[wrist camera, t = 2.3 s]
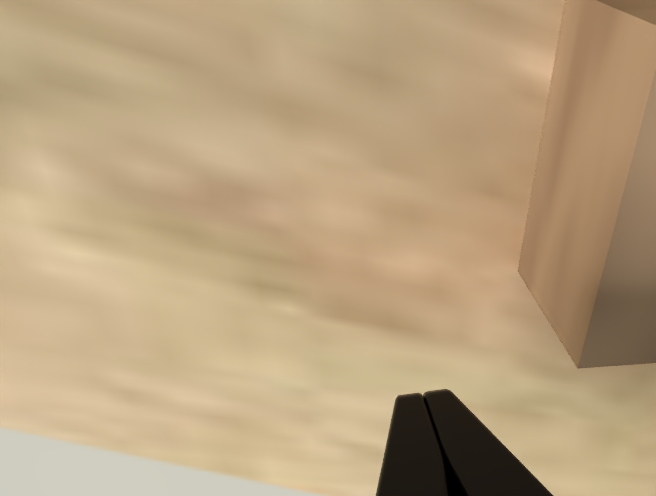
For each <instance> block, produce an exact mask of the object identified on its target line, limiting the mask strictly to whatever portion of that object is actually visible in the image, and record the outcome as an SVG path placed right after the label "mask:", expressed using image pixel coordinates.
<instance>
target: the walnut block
mask: <svg viewBox="0 0 656 496" xmlns="http://www.w3.org/2000/svg"><path fill="white" fill-rule="evenodd" d="M518 272H519V274H520V275H521V277H522V279H523V280H524V282H525V284H526V285H527V287H528V288H529V290H530V292H531V293H532V295H533V297H534V298H535V300H536V302H537V303H538V305H539V306H540V308H541V310H542V311H543V313H544V315H545V316H546V318H547V319H548V321H549V323H550V324H551V326H552V328H553V329H554V331H555V332H556V334H557V336H558V337H559V339H560V341H561V342H562V344H563V345H564V347H565V349H566V350H567V352H568V354H569V355H570V357H571V358H572V360H573V362H574V363H575V365H576V367H577V368H590V367H604V366H618V365H631V364H645V363H656V0H565V4H564V10H563V15H562V21H561V27H560V33H559V38H558V44H557V50H556V55H555V61H554V67H553V73H552V78H551V84H550V90H549V95H548V101H547V107H546V113H545V118H544V124H543V130H542V135H541V141H540V147H539V153H538V158H537V164H536V170H535V175H534V181H533V187H532V193H531V198H530V204H529V210H528V215H527V221H526V227H525V233H524V238H523V244H522V250H521V255H520V261H519V267H518Z"/></svg>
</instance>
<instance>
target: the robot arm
mask: <svg viewBox="0 0 656 496" xmlns="http://www.w3.org/2000/svg"><path fill="white" fill-rule="evenodd" d="M376 496H553V495H552V494H551V493H550V492H549V491H548V490H547V489H546V488H545V487H544V486H543V485H542V484H541V483H540V482H539V481H538V480H537V479H536V477H535V476H534V475H533V474H532V473H531V472H530V471H529V470H528V469H527V468H526V467H525V466H524V465H523V464H522V463H521V462H520V461H519V460H518V459H517V458H516V457H515V456H514V455H513V454H512V453H511V452H510V451H509V450H508V449H507V448H506V447H505V446H504V445H503V444H502V443H501V442H500V441H499V440H498V439H497V438H496V437H495V436H494V435H493V434H492V433H491V431H490V430H489V429H488V428H487V427H486V426H485V425H484V424H483V423H482V422H481V421H480V420H479V419H478V418H477V417H476V416H475V415H474V414H473V413H472V412H471V411H470V410H469V409H468V408H467V407H466V406H465V405H464V404H463V403H462V402H461V401H460V400H459V399H458V398H457V397H456V396H455V395H454V394H453V393H452V392H451V391H450V390H448V389H442V390H435V391H427V392H425V393H424V394H423V396H422V394H420V393H413V394H405V395H399V396H398V397H397V398H396V400H395V404H394V409H393V414H392V419H391V424H390V429H389V434H388V439H387V444H386V449H385V453H384V458H383V463H382V468H381V473H380V478H379V483H378V488H377V493H376Z"/></svg>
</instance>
